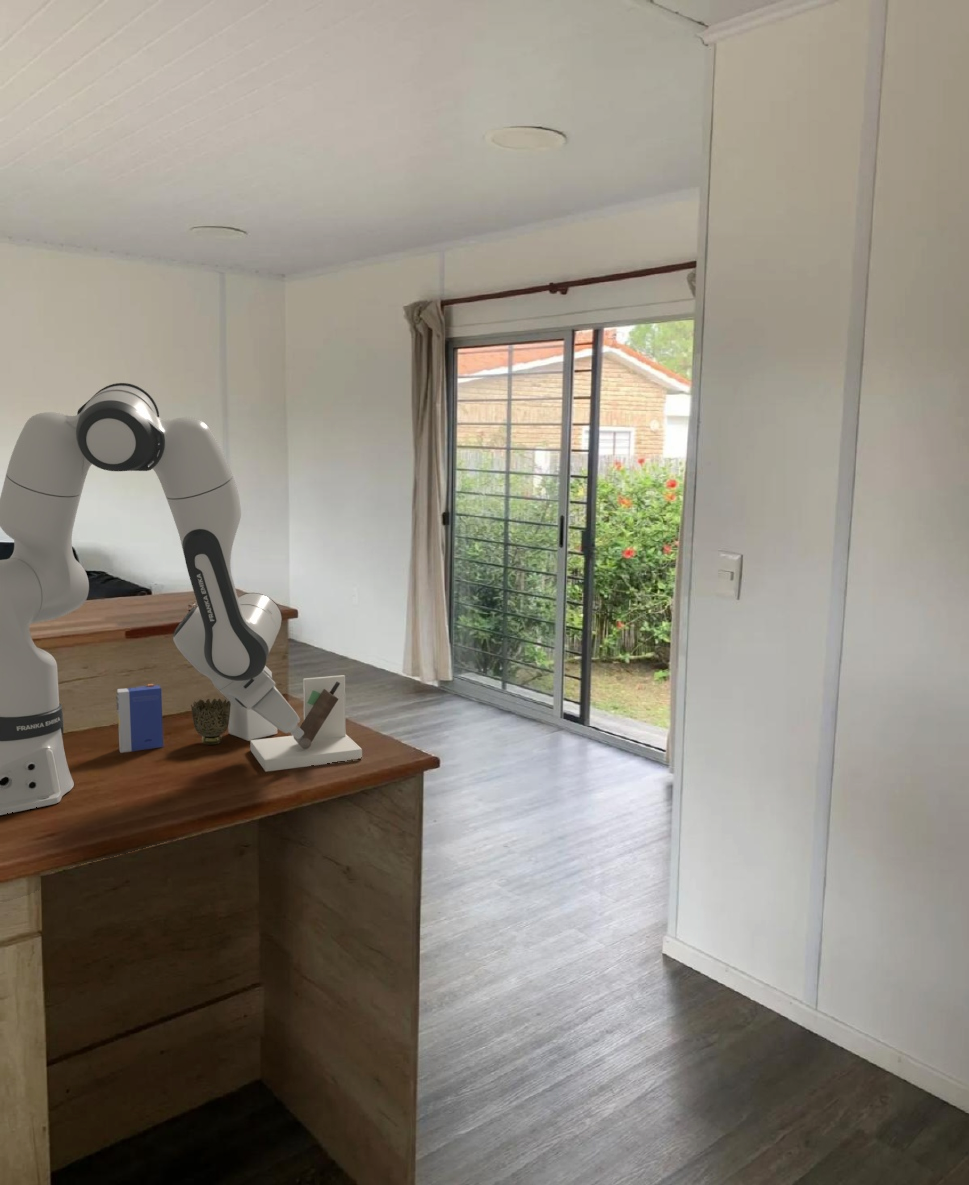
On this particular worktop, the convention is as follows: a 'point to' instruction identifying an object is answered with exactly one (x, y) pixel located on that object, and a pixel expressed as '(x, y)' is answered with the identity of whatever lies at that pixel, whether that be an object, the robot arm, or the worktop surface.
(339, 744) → the stand
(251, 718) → the medicine bottle
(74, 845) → the worktop surface
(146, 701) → the walkman
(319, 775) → the worktop surface
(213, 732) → the cup
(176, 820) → the worktop surface
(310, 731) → the lever
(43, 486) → the robot arm
